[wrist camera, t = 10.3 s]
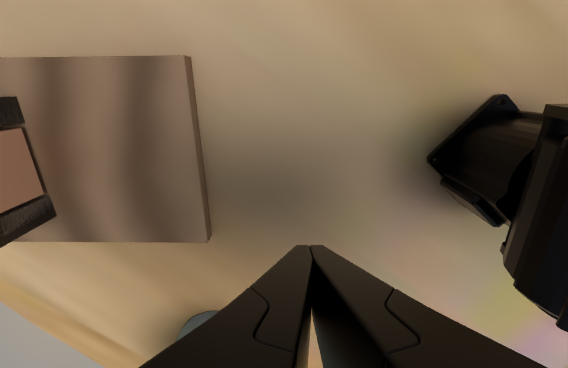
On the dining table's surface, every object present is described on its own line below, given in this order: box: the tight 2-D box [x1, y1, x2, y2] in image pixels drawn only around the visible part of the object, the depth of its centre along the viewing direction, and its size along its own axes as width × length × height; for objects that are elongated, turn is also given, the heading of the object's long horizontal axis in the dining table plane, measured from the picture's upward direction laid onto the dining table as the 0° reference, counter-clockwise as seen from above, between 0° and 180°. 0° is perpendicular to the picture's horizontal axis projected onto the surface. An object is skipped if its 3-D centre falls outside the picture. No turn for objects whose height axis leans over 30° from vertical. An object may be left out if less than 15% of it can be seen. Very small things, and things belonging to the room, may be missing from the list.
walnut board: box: [0, 55, 212, 243], centre depth 21 cm, size 20×14×1 cm
